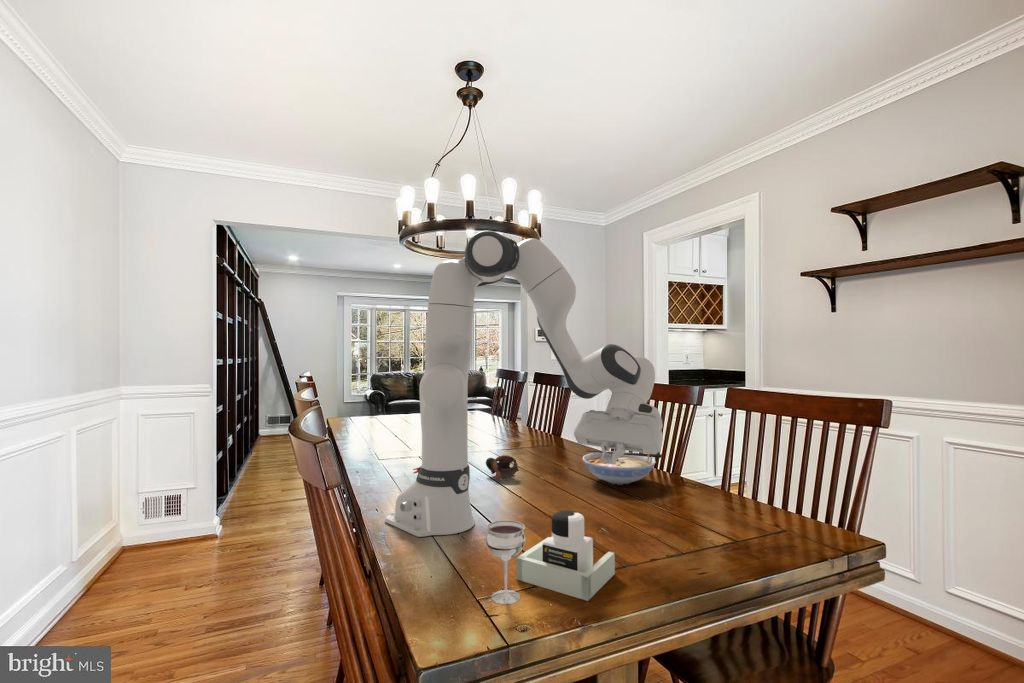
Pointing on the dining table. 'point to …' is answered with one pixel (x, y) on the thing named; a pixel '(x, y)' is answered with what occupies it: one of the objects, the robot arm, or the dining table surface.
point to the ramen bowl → (620, 466)
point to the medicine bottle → (568, 543)
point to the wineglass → (505, 551)
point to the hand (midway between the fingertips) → (607, 462)
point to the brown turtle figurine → (502, 466)
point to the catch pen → (564, 574)
